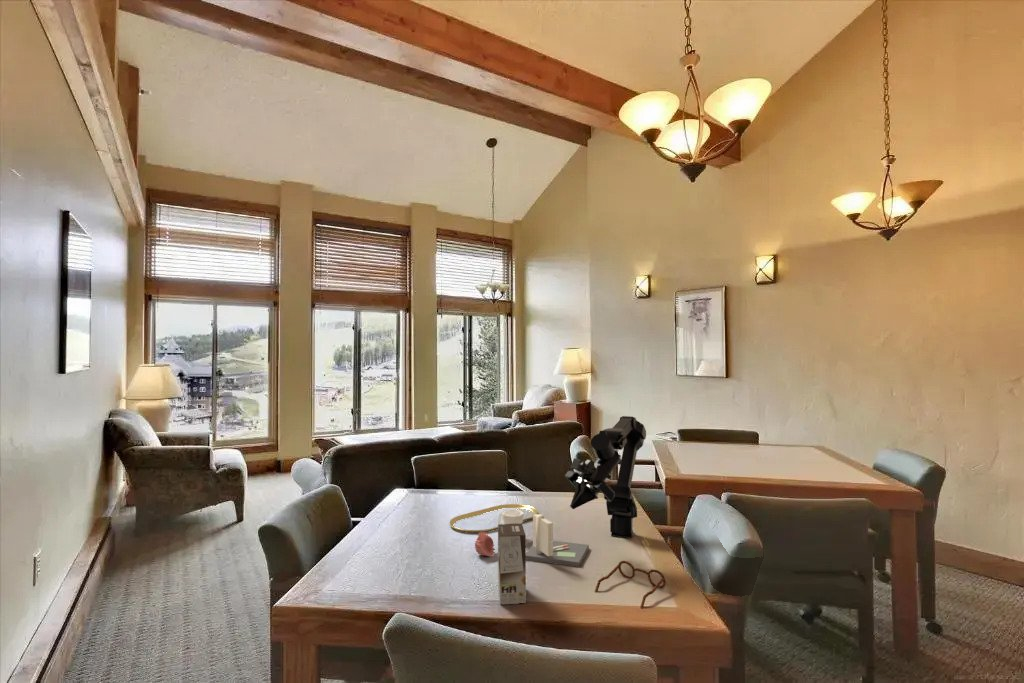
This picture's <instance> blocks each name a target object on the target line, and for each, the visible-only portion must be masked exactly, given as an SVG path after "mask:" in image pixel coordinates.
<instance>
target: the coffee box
mask: <svg viewBox="0 0 1024 683" xmlns="http://www.w3.org/2000/svg"><path fill="white" fill-rule="evenodd" d="M497 527H498V529H497V557H498V558H497V562H498V563H497V565H498V566H497V567H498V568H497V569H498V571H497V572H498V573H497V574H498V575H497V577H498V583H497V584H498V586H497V587H498V596H499V597H498V598H499V599H498V600H499V604H500V605H501V604H502V605H518V604H519V603H524V604H526V600H527V599H526V597H527V596H526V595H527V582H526V580H527V579H526V575H527V573H526V572H527V571H526V570H527V569H526V568H527V567H526V561H527V560H526V552H527V551H526V548H527V546H526V545H527V544H526V543H527V542H526V540H527V538H526V537H527V536H526V533H525V529H524V525H523V522H522V523H520V524H504V523H503V524H502V523H501V524H499V523H498V524H497ZM519 605H520V604H519Z"/></svg>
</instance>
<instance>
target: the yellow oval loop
mask: <svg viewBox="0 0 1024 683" xmlns="http://www.w3.org/2000/svg"><path fill="white" fill-rule="evenodd" d="M502 508H520V509H519V510H523V509H526V510H525V511H527V510H530V511H532V512H533V513H534V515H535V514H538V510H537V509H536V508H534V507H533V506H530V505H525V504H520V503H519V504H516V503H507V504H500V505H494V506H491V507H487V508H482V509H479V510H476V511H471V512H468V513H463V514H459V515H457V516H454V517H453V518H451V519H450V520H449V525H450V527H451V528H452V529H453V530H455V531H457V530H458V531H457V532H460V531H461V533H465V532H467V534H480V532H481V533H482V532H484V531H485V533H489V531H490V532H492V531H493V530H494V531H496V529H497V530H498V526H495V527H492V528H486V529H463V528H458V527H456V526H455V527H454V526H453V524H454V523H455V522H456V521H458V520H461V519H464V520H466V519H465V518H467V519H470V518H469V517H471V518H474V517H473V516H475V517H478V516H477V515H479V516H481V514H482V515H484V514H483V513H486V512H490V511H494V510H497V511H499V510H498V509H502ZM502 510H503V509H502ZM530 511H529V512H530ZM494 512H495V511H494ZM490 513H491V512H490ZM486 514H487V513H486ZM526 520H527V521H531V520H533V515H532V516H528V517H526V518H523V521H524V522H527V521H526ZM461 521H462V520H461ZM458 522H459V521H458ZM479 531H480V532H479Z"/></svg>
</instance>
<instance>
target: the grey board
mask: <svg viewBox="0 0 1024 683" xmlns="http://www.w3.org/2000/svg"><path fill="white" fill-rule="evenodd" d="M566 544H567V545H568V547H564V548H558V549H553V556H547V555H546V554H544V553H543V554H538V553H536V547H534V546H533V544H532V545H531V546H530V547H529V549H528V550H527V551H526V561H533V562H538V563H539V562H540V563H547V564H555V565H561V566H562V565H564V566H571V567H579V568H580V566H581V564H582V562H583V560H584V559H585V556H586V555H587V553H588V551H589V550H590V548H589V546H590V544H585V543H578V542H567V541H559V540H553V547H557V546H562V545H566Z"/></svg>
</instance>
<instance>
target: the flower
mask: <svg viewBox="0 0 1024 683" xmlns="http://www.w3.org/2000/svg"><path fill="white" fill-rule="evenodd" d="M479 532H480V531H479ZM477 536H478V537H477V538H476V540H475V542H474V549H475V551H476V553H477V554H478V555H480V556H483V557H484V556H488V557H491V558H492V557H494V556H495V555H494V554H496V552H495V550H496V549H495V548H494V547H495V545H494V539H492V537H491V536H489V534H488V533H486V532H485V531H484V533H483V532H482V533H481V532H480V533H477Z"/></svg>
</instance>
